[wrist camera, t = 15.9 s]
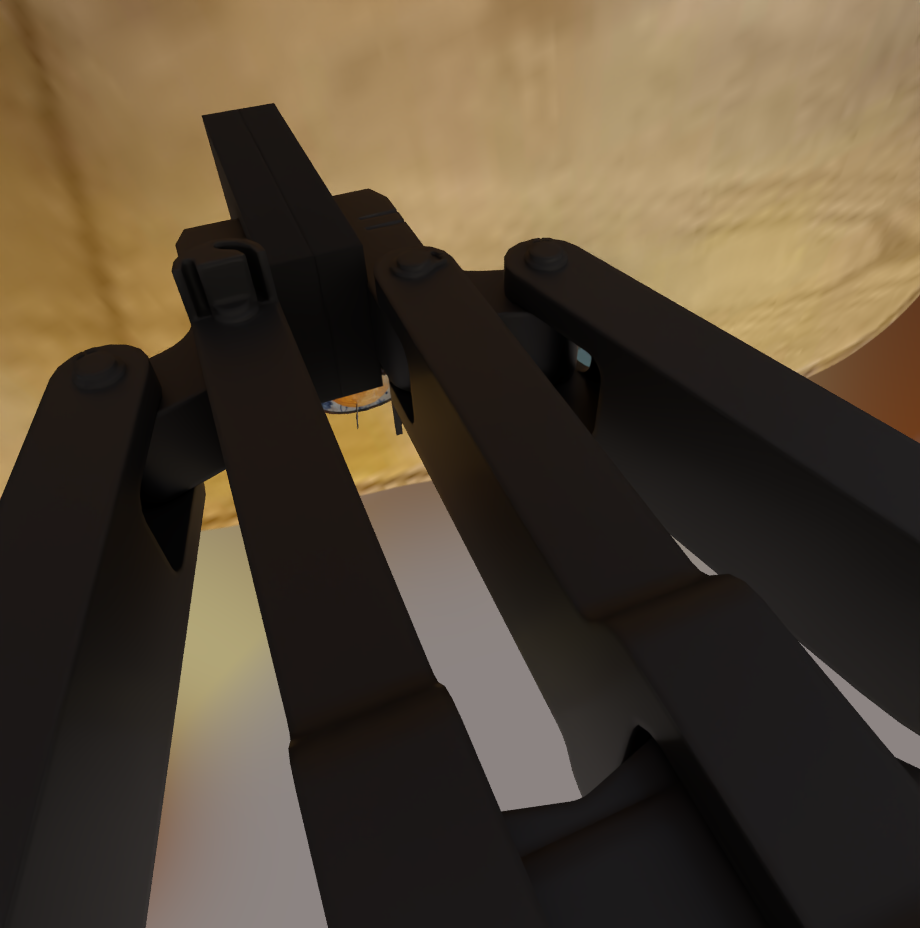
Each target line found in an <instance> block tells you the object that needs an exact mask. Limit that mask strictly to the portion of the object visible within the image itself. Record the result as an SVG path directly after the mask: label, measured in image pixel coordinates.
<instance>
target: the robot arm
mask: <svg viewBox="0 0 920 928" xmlns="http://www.w3.org/2000/svg"><path fill="white" fill-rule="evenodd" d="M202 118H203V122H204V125H205V129H206V132H207V136H208V139H209V143H210V146H211V150H212V153H213V157H214V160H215V164H216V167H217V171H218V174H219V178H220V181H221V185H222V189H223V192H224V196H225V199H226V203H227V206H228V210H229V213H230V217H231V220H226V221H222V222H217V223H212V224H207V225H202V226H198V227H193V228H188V229H184V230H183V232H182V234H181V236H180V237H179V239H178V241H177V243H176V249H177V253H178V258H177V259H176V260H175V261H174V262H173V266H172V274H173V277H174V279H175V282H176V285H177V287H178V290H179V293H180V295H181V298H182V301H183V304H184V306H185V309H186V312H187V314H188V317H189V320H190V323H191V328H190V330H189V332H188V333H187V334H186V335H185V337H184V338H183V339H182V340H180V341H179V342H178V343H177V344H175V345H174V346H173V347H171V348H169V349H167V350H165V351H163V352H162V353H160V354H157V355H155V356H153V357H151V358H148V356H147V355H146V354H145V353H144V352H143V351H142V350H141V349H139V348H136V347H133V346H129V345H105V346H101V347H94V348H90V349H88V350H85V351H84V352H80V353H78V354H76V355H74V356H73V357H71V358H70V359H68V360H67V361H66V362H64V363H63V364H62V365H60V366H59V367H58V368H57V369H56V371H55V372H54V374H53V375H52V376H51V378H50V380H49V382H48V384H47V387H46V389H45V392H44V394H43V397H42V399H41V402H40V404H39V406H38V409H37V411H36V414H35V416H34V419H33V421H32V423H31V426H30V428H29V431H28V433H27V436H26V438H25V441H24V443H23V445H22V448H21V450H20V453H19V455H18V458H17V460H16V462H15V465H14V467H13V470H12V472H11V475H10V477H9V480H8V482H7V484H6V487H5V489H4V492H3V494H2V497H1V499H0V928H145V927H146V920H147V913H148V906H149V899H150V898H149V897H150V891H151V884H152V877H153V869H154V863H155V855H156V848H157V841H158V834H159V827H160V819H161V811H162V805H163V798H164V791H165V783H166V776H167V769H168V762H169V755H170V747H171V740H172V732H173V726H174V719H175V711H176V705H177V697H178V690H179V683H180V675H181V668H182V661H183V654H184V647H185V640H186V633H187V625H188V618H189V611H190V603H191V597H192V589H193V582H194V575H195V568H196V561H197V554H198V546H199V539H200V532H201V525H202V518H203V510H204V503H205V496H206V493H205V486H204V481H206V480H208V479H210V478H211V477H213V476H215V475H217V474H218V473H220V472H222V471H224V470H225V469H226V471H227V475H228V480H229V484H230V488H231V492H232V496H233V500H234V504H235V508H236V512H237V517H238V521H239V525H240V529H241V533H242V537H243V541H244V545H245V550H246V554H247V558H248V561H249V566H250V570H251V574H252V578H253V583H254V587H255V591H256V595H257V599H258V603H259V607H260V611H261V615H262V620H263V624H264V628H265V632H266V636H267V640H268V644H269V648H270V653H271V657H272V661H273V665H274V669H275V673H276V677H277V681H278V685H279V689H280V694H281V698H282V702H283V706H284V710H285V714H286V718H287V723H288V728H289V732H290V740H291V741H290V745H289V748H288V749H289V757H290V765H291V770H292V775H293V779H294V784H295V789H296V793H297V797H298V802H299V806H300V810H301V814H302V819H303V823H304V827H305V831H306V835H307V839H308V844H309V849H310V853H311V857H312V861H313V865H314V869H315V874H316V878H317V882H318V887H319V891H320V895H321V900H322V904H323V908H324V912H325V917H326V921H327V925H328V928H920V769H919V768H917V767H914V766H912V765H910V764H908V763H906V762H904V761H902V760H900V759H898V758H896V757H894V755H893V754H892V753H891V752H890V751H889V750H888V748H887V747H886V746H885V745H884V744H883V742H882V741H881V740H880V739H879V738H878V736H877V735H876V734H875V733H874V732H873V730H872V729H871V728H870V727H869V726H868V725H867V723H866V722H865V721H864V720H863V718H862V717H861V716H860V715H859V714H858V712H857V711H856V710H855V709H854V708H853V706H852V705H851V704H850V703H849V702H848V700H847V699H846V698H845V697H844V696H843V694H842V693H841V692H840V691H839V690H838V688H837V687H836V686H835V685H834V684H833V682H832V681H831V680H830V679H829V678H828V676H827V675H826V674H825V673H824V672H823V670H822V669H821V668H820V667H819V666H818V664H817V663H816V662H815V661H814V660H813V659H812V657H811V656H810V655H809V654H808V653H807V652H806V650H805V649H804V648H803V646H801V644H802V645H804V646H805V647H806V648H807V649H809V650H810V651H811V652H812V653H813V654H815V655H816V656H817V657H818V658H819V659H821V660H822V661H823V662H824V663H825V664H827V665H828V666H829V667H830V668H831V669H833V670H834V671H835V672H836V673H837V674H839V675H840V676H841V677H842V678H843V679H845V680H846V681H847V682H848V683H849V684H851V685H852V686H853V687H854V688H855V689H857V690H858V691H859V692H860V693H862V694H863V695H864V696H866V697H867V698H868V699H869V700H871V701H872V702H873V703H875V704H876V705H877V706H879V707H880V708H881V709H882V710H884V711H885V712H886V713H888V714H889V715H890V716H892V717H893V718H894V719H896V720H897V721H898V722H900V723H901V724H903V725H904V726H906V727H907V728H909V729H910V730H912V731H913V732H915V733H916V734H918V735H920V443H918V442H916V441H914V440H913V439H911V438H909V437H908V436H906V435H904V434H902V433H901V432H899V431H897V430H896V429H894V428H892V427H890V426H889V425H887V424H885V423H883V422H882V421H880V420H878V419H876V418H875V417H873V416H871V415H870V414H868V413H866V412H864V411H863V410H861V409H859V408H857V407H855V406H854V405H852V404H850V403H849V402H847V401H845V400H843V399H842V398H840V397H838V396H837V395H835V394H833V393H831V392H829V391H828V390H826V389H824V388H823V387H821V386H819V385H817V384H816V383H814V382H812V381H810V380H809V379H807V378H805V377H804V376H802V375H800V374H798V373H797V372H795V371H793V370H791V369H790V368H788V367H786V366H784V365H783V364H781V363H779V362H777V361H776V360H774V359H772V358H771V357H769V356H767V355H765V354H764V353H762V352H760V351H758V350H757V349H755V348H753V347H751V346H750V345H748V344H746V343H744V342H743V341H741V340H739V339H738V338H736V337H734V336H732V335H731V334H729V333H727V332H725V331H724V330H722V329H720V328H718V327H717V326H715V325H713V324H711V323H710V322H708V321H706V320H705V319H703V318H701V317H699V316H698V315H696V314H694V313H692V312H691V311H689V310H687V309H685V308H684V307H682V306H680V305H678V304H677V303H675V302H673V301H672V300H670V299H668V298H666V297H665V296H663V295H661V294H659V293H658V292H656V291H654V290H652V289H651V288H649V287H647V286H645V285H644V284H642V283H640V282H639V281H637V280H635V279H633V278H632V277H630V276H628V275H626V274H625V273H623V272H621V271H619V270H618V269H616V268H614V267H612V266H611V265H609V264H607V263H606V262H604V261H602V260H600V259H599V258H597V257H595V256H593V255H592V254H590V253H588V252H586V251H585V250H583V249H581V248H579V247H578V246H576V245H573V244H571V243H568V242H566V241H562V240H555V239H552V238H542V239H540V238H536V239H531V240H528V241H525V242H521V243H518V244H517V245H515V246H513V247H512V248H510V249H509V250H508V252H507V253H506V255H505V256H504V270H493V271H464V270H462V269H461V267H460V266H459V265H458V264H457V262H456V261H455V260H454V259H453V257H451V256H450V255H449V254H448V253H446V252H445V251H443V250H440V249H437V248H433V247H427V246H423V244H422V243H421V242H420V240H419V239H418V238H417V236H416V235H415V234H414V232H413V231H412V230H411V228H410V227H409V226H408V224H407V223H406V222H404V219H403V218H402V216H401V215H400V214H399V212H397V210H396V208H395V207H394V206H393V204H392V203H391V202H390V200H389V199H388V198H387V197H386V196H383V195H381V194H379V193H377V192H375V191H373V190H371V189H364V190H359V191H354V192H349V193H345V194H340V195H335V196H332V195H331V193H330V192H329V190H328V189H327V187H326V185H325V184H324V182H323V181H322V179H321V177H320V176H319V174H318V173H317V171H316V170H315V168H314V166H313V165H312V163H311V162H310V160H309V158H308V157H307V155H306V154H305V152H304V150H303V149H302V147H301V146H300V144H299V142H298V141H297V139H296V138H295V136H294V134H293V133H292V131H291V130H290V128H289V127H288V125H287V123H286V122H285V120H284V119H283V117H282V115H281V114H280V112H279V111H278V109H277V107H276V106H275V104H274V103H272V104H266V105H260V106H254V107H248V108H243V109H237V110H231V111H225V112H220V113H214V114H208V115H202ZM578 346H579V347H580V348H582V349H583V350H585V351H586V352H587V353H588V354H589V355H590V356H591V364H590V367H588V366H586V365H584V364H583V363H581V362H580V361H578V360H577V354H578ZM380 363H381V365H382V367H383V369H384V371H385V373H386V375H387V376H388V379H389V387H390V394H391V401H392V408H393V415H394V423H395V429H396V434H397V435H400V434H403V433H402V423H403V425H404V427H405V429H406V431H407V433H408V435H409V437H410V439H411V441H412V443H413V444H414V446H415V448H416V450H417V452H418V454H419V456H420V458H421V460H422V462H423V464H424V466H425V468H426V470H427V472H428V474H429V476H430V477H431V479H432V481H433V483H434V485H435V487H436V489H437V491H438V493H439V495H440V497H441V499H442V501H443V503H444V505H445V506H446V509H447V511H448V512H449V514H450V516H451V518H452V520H453V522H454V524H455V526H456V528H457V530H458V532H459V534H460V536H461V538H462V540H463V541H464V544H465V546H466V547H467V549H468V551H469V553H470V555H471V557H472V559H473V561H474V563H475V565H476V567H477V569H478V571H479V573H480V574H481V577H482V578H483V581H484V582H485V584H486V586H487V588H488V590H489V592H490V594H491V596H492V598H493V600H494V602H495V604H496V606H497V608H498V610H499V612H500V614H501V615H502V617H503V619H504V621H505V623H506V625H507V627H508V629H509V631H510V633H511V635H512V637H513V639H514V641H515V643H516V645H517V646H518V649H519V650H520V652H521V654H522V656H523V658H524V660H525V662H526V664H527V666H528V668H529V670H530V672H531V674H532V676H533V678H534V680H535V682H536V683H537V685H538V687H539V689H540V691H541V693H542V695H543V697H544V699H545V701H546V703H547V705H548V707H549V709H550V710H551V713H552V715H553V717H554V719H555V720H556V722H557V724H558V726H559V729H560V731H561V733H562V735H563V738H564V741H565V744H566V746H567V751H568V755H569V759H570V762H571V767H572V771H573V774H574V777H575V780H576V782H577V785H578V788H579V790H580V792H581V795H582V798H580V799H578V800H575V801H571V802H565V803H557V804H550V805H543V806H536V807H529V808H522V809H516V810H509V811H502V812H501V811H500V808H499V806H498V804H497V801H496V799H495V796H494V794H493V792H492V789H491V787H490V784H489V782H488V780H487V777H486V775H485V773H484V770H483V768H482V766H481V763H480V761H479V759H478V756H477V754H476V752H475V749H474V747H473V745H472V742H471V740H470V737H469V735H468V733H467V730H466V728H465V726H464V724H463V721H462V719H461V716H460V714H459V712H458V710H457V708H456V706H455V703H454V701H453V699H452V697H451V696H450V694H449V692H448V691H447V689H446V687H445V686H444V685H442V684H440V683H439V682H438V681H437V679H436V677H435V676H434V673H433V671H432V669H431V667H430V665H429V662H428V660H427V657H426V655H425V652H424V650H423V648H422V645H421V643H420V640H419V638H418V636H417V633H416V631H415V628H414V626H413V624H412V621H411V619H410V616H409V614H408V611H407V609H406V607H405V605H404V602H403V599H402V597H401V595H400V592H399V590H398V587H397V585H396V583H395V580H394V578H393V575H392V573H391V571H390V568H389V566H388V563H387V561H386V558H385V556H384V554H383V551H382V549H381V547H380V544H379V542H378V539H377V537H376V534H375V532H374V529H373V528H372V525H371V522H370V520H369V517H368V515H367V513H366V510H365V508H364V505H363V503H362V501H361V498H360V496H359V493H358V491H357V488H356V486H355V484H354V481H353V479H352V476H351V474H350V472H349V469H348V467H347V464H346V462H345V460H344V457H343V455H342V452H341V450H340V447H339V445H338V443H337V440H336V438H335V435H334V433H333V431H332V428H331V426H330V423H329V421H328V419H327V416H326V414H325V411H324V409H323V406H322V404H321V403H325V402H328V401H332V400H335V399H339V398H342V397H346V396H350V395H353V394H357V393H360V392H364V391H367V390H371V389H375V388H378V387H382V386H383V379H382V373H381V366H380ZM672 536H673V537H674V538H675V539H676V540H677V541H679V542H680V543H681V544H682V545H683V546H685V547H686V548H687V549H688V550H690V551H691V552H692V553H693V554H695V556H697V557H698V558H699V559H700V560H701V561H703V562H704V563H705V564H706V565H708V566H709V567H710V568H711V569H712V570H714V571H715V572H716V573H717V574H718V575H711V576H709V575H707V574H705V573H703V572H701V571H700V570H699V569H698V568H697V567H696V566H695V565H694V564H693V563H692V562H691V561H690V559H689V558H688V557H687V556H686V554H685V553H684V552H683V550H682V549H681V548H680V547H679V545H678V544H677V543H676V542H675V540H674V539H673V538H672ZM798 641H799V642H800V643H801V644H800V643H799V642H798Z"/></svg>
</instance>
